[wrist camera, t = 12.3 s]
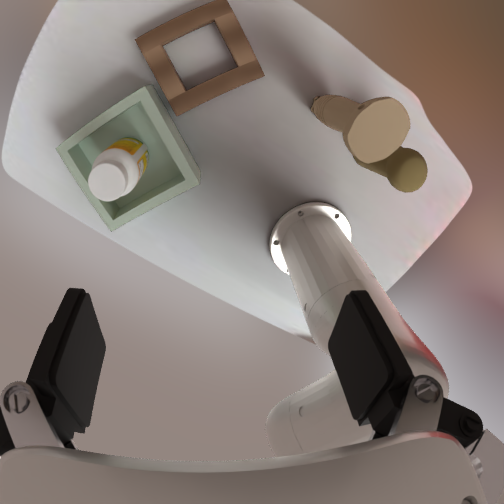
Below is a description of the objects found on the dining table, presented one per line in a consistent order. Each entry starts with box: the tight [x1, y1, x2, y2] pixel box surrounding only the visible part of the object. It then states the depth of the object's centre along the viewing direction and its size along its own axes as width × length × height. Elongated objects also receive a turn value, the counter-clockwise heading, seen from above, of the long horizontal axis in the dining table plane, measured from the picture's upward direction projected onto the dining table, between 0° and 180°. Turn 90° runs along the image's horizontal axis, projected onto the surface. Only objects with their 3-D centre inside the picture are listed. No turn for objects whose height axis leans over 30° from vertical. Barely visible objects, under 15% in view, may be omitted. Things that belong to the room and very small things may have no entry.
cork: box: [353, 146, 427, 192], centre depth 34 cm, size 6×6×11 cm
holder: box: [135, 0, 265, 116], centre depth 29 cm, size 11×11×2 cm
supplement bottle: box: [88, 137, 150, 201], centre depth 30 cm, size 5×5×10 cm
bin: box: [56, 84, 201, 232], centre depth 33 cm, size 13×13×4 cm
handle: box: [311, 95, 410, 164], centre depth 28 cm, size 5×6×15 cm
